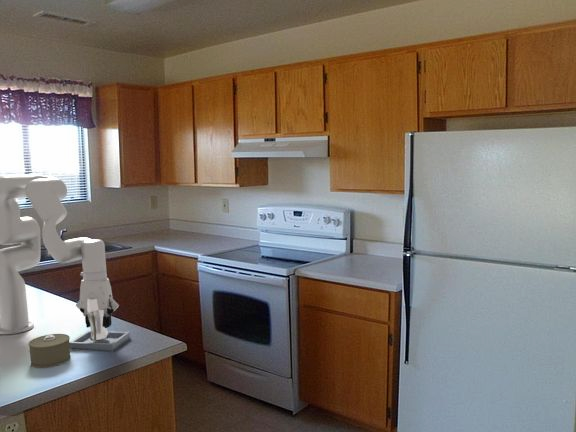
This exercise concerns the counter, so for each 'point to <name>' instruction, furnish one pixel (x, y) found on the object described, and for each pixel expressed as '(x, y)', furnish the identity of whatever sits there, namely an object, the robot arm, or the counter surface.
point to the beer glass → (96, 321)
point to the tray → (100, 342)
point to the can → (49, 350)
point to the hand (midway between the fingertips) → (98, 326)
